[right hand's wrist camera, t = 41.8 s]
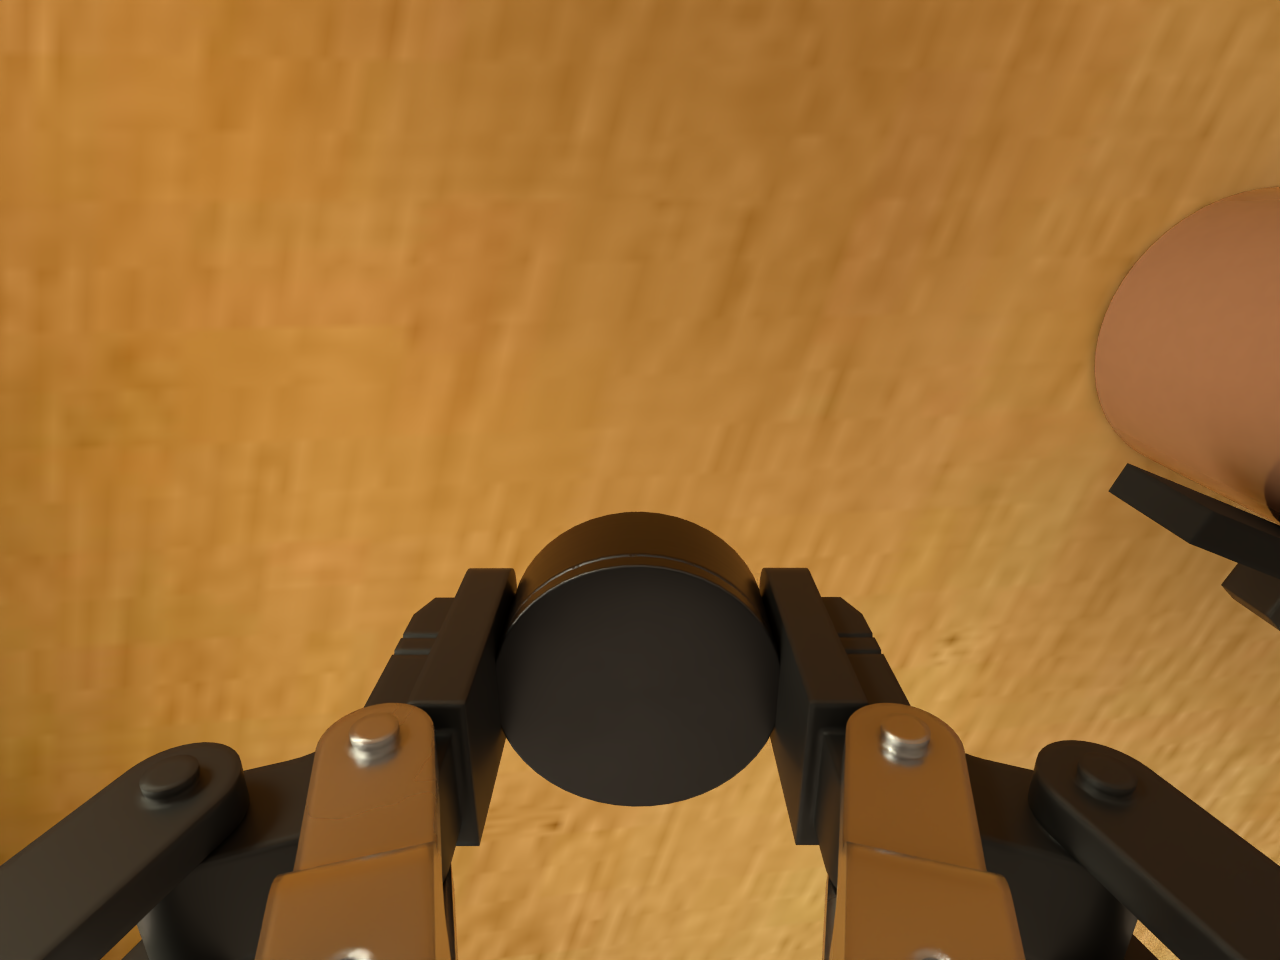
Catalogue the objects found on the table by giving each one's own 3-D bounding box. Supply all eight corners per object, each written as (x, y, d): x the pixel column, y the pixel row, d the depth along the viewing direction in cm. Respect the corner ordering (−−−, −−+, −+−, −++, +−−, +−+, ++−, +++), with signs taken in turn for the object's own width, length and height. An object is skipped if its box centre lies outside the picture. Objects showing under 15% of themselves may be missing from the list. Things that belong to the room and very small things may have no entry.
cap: (734, 740, 13) (748, 822, 11) (500, 709, 13) (479, 789, 11) (789, 531, 12) (816, 590, 10) (526, 491, 11) (506, 544, 10)
